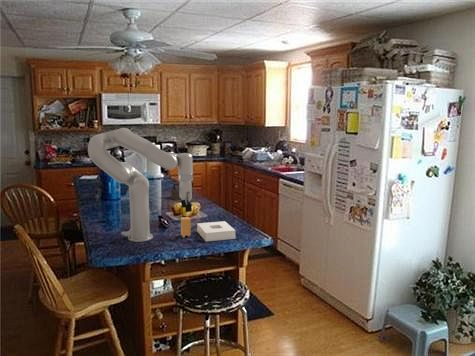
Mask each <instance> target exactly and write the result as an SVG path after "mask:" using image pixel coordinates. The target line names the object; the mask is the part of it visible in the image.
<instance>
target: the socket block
mask: <svg viewBox="0 0 475 356" xmlns="http://www.w3.org/2000/svg"><path fill="white" fill-rule="evenodd" d="M196 230H197V233H198V234H199V235H200V236H201V238H202V239H203V240H204V241H205V242H206V243H207V242H215V241H216V242H217V241H225V240H235V239H236V229H234V227H232V226H231V225H230V224H229V223H228V222H226V221H225V220H224V221H211V222H209V221H208V222H200V223H199V222H198V223H196Z"/></svg>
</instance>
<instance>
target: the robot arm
mask: <svg viewBox="0 0 475 356" xmlns="http://www.w3.org/2000/svg"><path fill="white" fill-rule="evenodd" d="M117 147H122V148H124V149H127V150H129V151H130V152H133V153H135V154H136V155H139V156H141V157H142V158H144V159H146V160H147V161H150V162H151V163H153V164H155V165H157V166H159V167H161V168H163V169H165V170H169V171H172V170H175V169H176V168H177V179H178V180H177V181H178V183H179V186H178V187H179V196H180V198H181V200H180V201H181V202H180V203H181V206H180V207H181V209H182V208H183V209H184V210H185V212H186V213H189V212H190V213H191V212H192V211H193V207H192V200H193V190H192V188H193V187H192V184H191V182H192V181H194V176H193V175H194V171H193V169H194V168H193V167H194V166H193V155H192V153H191V152H190V153H189V152H181V153H176V152H175V153H173V152H166V151H164V150H162V149H160V148H159V147H157V146H155V144H153V142H152V141H150V140H148V139H146V138H144V137H142V136H140V135H138V134H136V133H134V132H133V131H132V130H130V129H129V128H127V127H121V128H117V129H114V130H110V131H106V132H101V133H98V134H96V135H93V136H92V137H91V138H90V140H89V141H88V144H87V153H88V157H89V159H90V160H91V161H92V163H94V165H96V166H97V167H98V168H100V170H102V171H103V172H104V173H105V174H107V175H108V176H109V177H111V178H112V179H113V180H114V181H116V182H117V183H118V184H125V185H126V186H128V195H129V196H128V197H129V214H130V215H129V216H130V228H129V230H128V231H121V236H124V237H127V240H128V241H130V242H133V243H134V242H135V243H141V242H148V241H151V240H153V238H154V234H152V233H150V229H151V228H150V227H151V226H150V197H149V196H150V195H149V194H150V193H149V189H150V181H149V179H148V178H147V177H146V176H145V175H144V174H143V173H141V172H140V171H139V170H138V169H136V168H135V167H134V166H133V165H131V164H130V163H128V162H121V161H120V160H118V159H117V158H116V157H114V156H113V155H112V154H111V153H109V152H108V150H109V149H113V148H117Z"/></svg>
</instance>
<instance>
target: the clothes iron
mask: <svg viewBox="0 0 475 356" xmlns="http://www.w3.org/2000/svg"><path fill="white" fill-rule="evenodd" d="M179 183H180V182H175V181H174V182H173V183H172V185H173V186H172V189H171V200H173V199H179V200H178V201H181V200H180V199H181V198H180V196H179V189H178V188H177V187H179ZM191 184H192V188H193V187H194V185H195V184H194V182H192V181H191ZM176 186H177V187H176Z"/></svg>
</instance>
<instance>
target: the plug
mask: <svg viewBox="0 0 475 356" xmlns="http://www.w3.org/2000/svg"><path fill="white" fill-rule="evenodd" d="M191 220H192V219H191V217H190V216H185V217H180V235H181V237H182V238H185V237H186V236H187V237H190V236H191V232H192V230H191V224H192V223H191Z"/></svg>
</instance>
